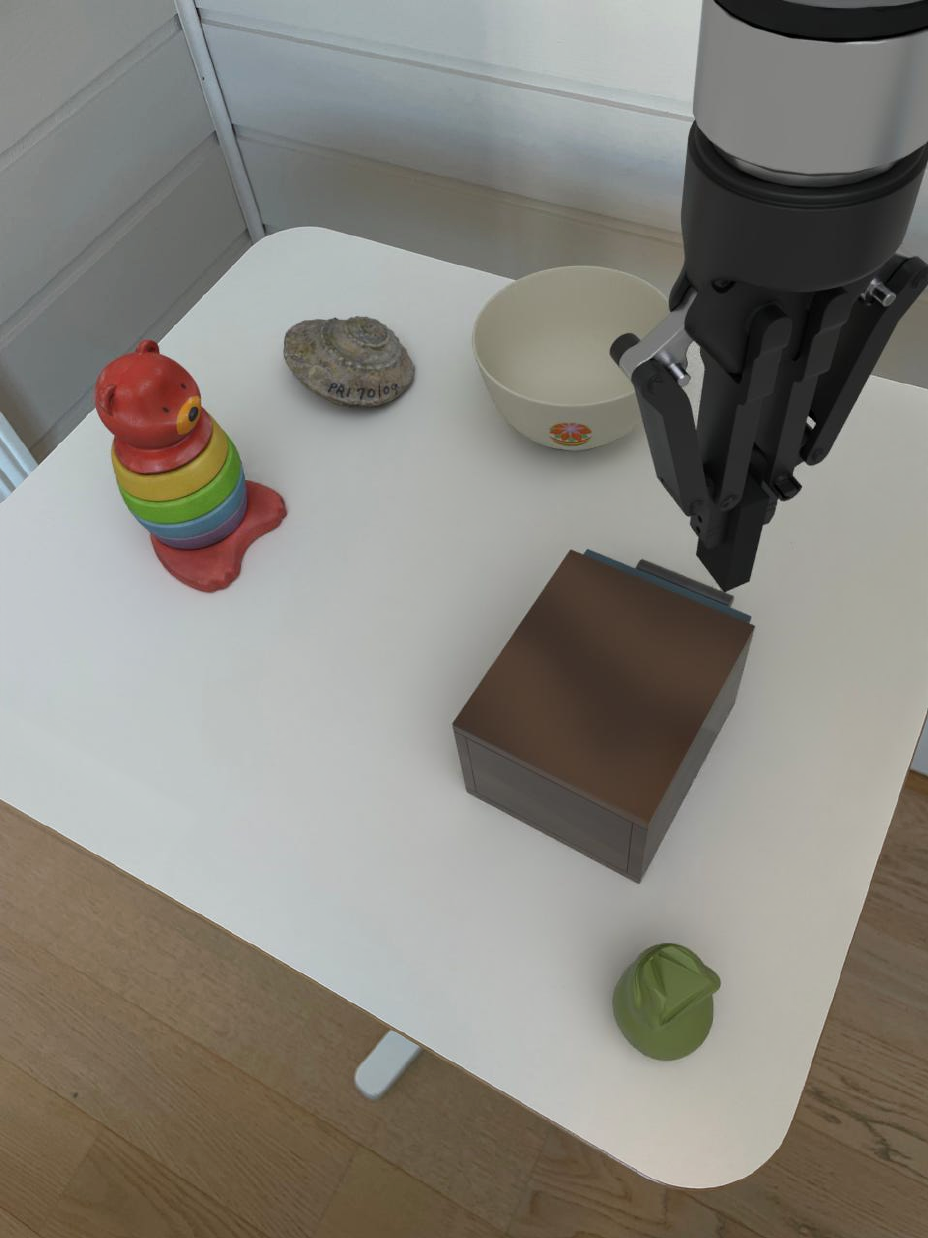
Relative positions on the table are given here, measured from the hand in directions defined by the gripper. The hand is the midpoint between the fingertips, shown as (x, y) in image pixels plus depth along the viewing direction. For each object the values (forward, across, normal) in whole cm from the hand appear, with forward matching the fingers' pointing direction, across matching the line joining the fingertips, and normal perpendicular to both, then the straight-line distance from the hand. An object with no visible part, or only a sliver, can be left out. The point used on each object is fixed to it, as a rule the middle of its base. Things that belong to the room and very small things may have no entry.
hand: (722, 567), depth 51 cm
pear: (+21, +10, +14) cm, 27 cm away
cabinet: (+20, +5, -2) cm, 21 cm away
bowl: (+20, -7, -30) cm, 37 cm away
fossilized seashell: (+20, +8, -46) cm, 51 cm away
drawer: (+19, +2, -5) cm, 20 cm away
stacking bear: (+20, +24, -34) cm, 47 cm away
